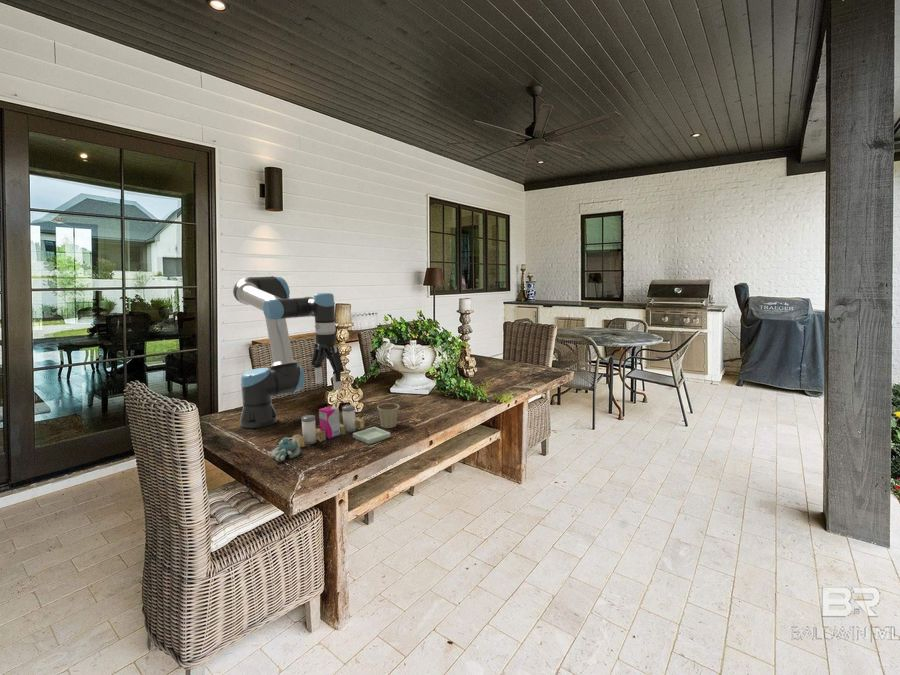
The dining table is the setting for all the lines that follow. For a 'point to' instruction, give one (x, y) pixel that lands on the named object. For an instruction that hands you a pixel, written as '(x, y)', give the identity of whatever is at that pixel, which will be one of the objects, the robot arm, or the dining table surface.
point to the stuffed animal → (286, 449)
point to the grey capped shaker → (349, 418)
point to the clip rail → (322, 436)
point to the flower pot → (388, 414)
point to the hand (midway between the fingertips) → (328, 386)
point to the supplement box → (330, 421)
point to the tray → (371, 435)
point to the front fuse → (309, 429)
